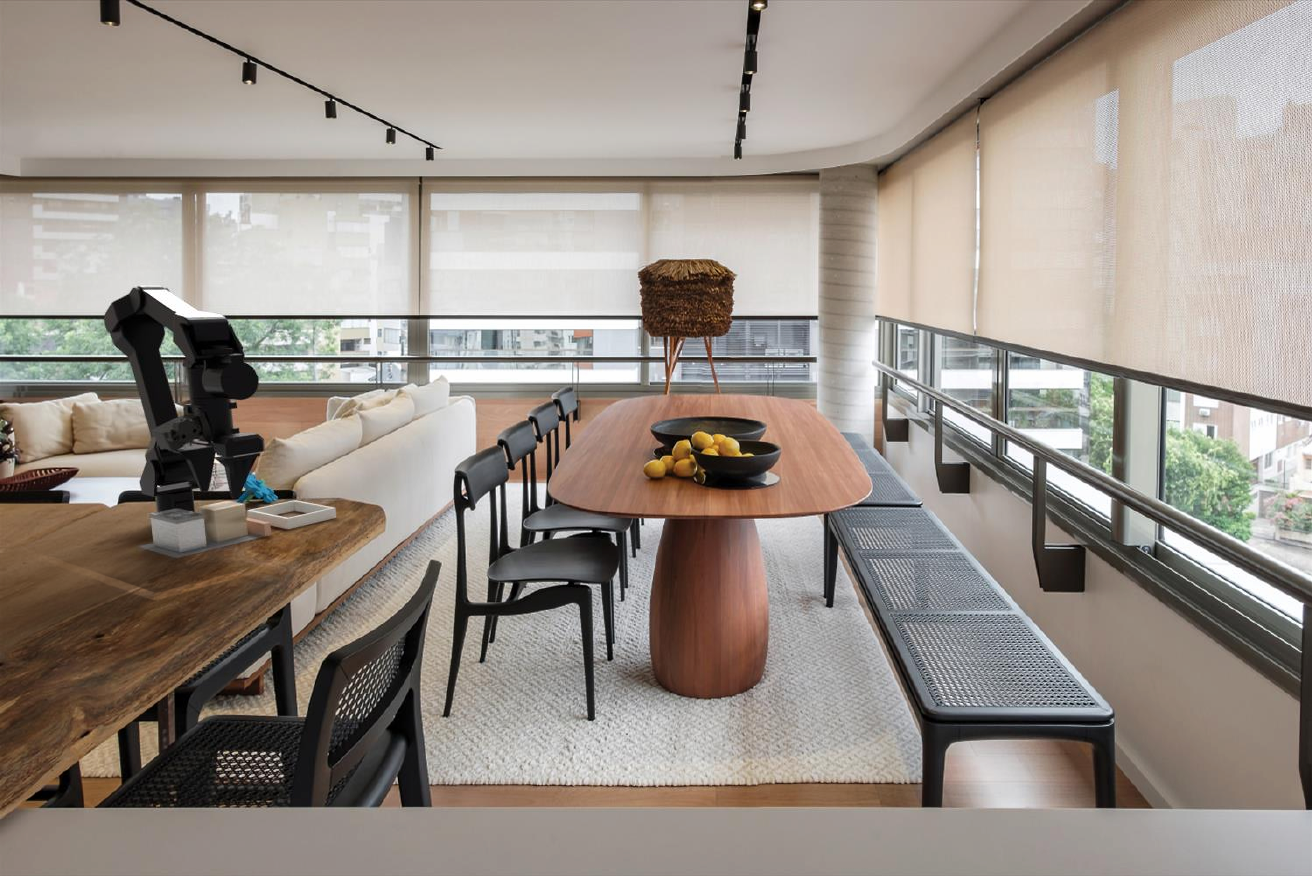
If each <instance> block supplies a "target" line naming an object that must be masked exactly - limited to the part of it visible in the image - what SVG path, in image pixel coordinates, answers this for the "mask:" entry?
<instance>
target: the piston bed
mask: <svg viewBox="0 0 1312 876" xmlns="http://www.w3.org/2000/svg"><path fill="white" fill-rule="evenodd" d="M246 520H247V530H248V535H244V536H240V537H236V538H232V539H228V540H223V541H219V542H216V541H212V540H208V539H206V545H207V546H206V547H202V548H198V549H194V550H190V551H186V552H181V553H179V552H175V551H172V550H168V549H165V548H161V547H158V546H154V542H151V543H146V544H143V545H138V546H137V548H140V549H144V550H147V551H151V552H153V553H157V554H161V555H165V556H168V557H170V558H171V557H172V558H175V559H179V558H183V557H184V558H185V557H188V556H191V555H196V554H199V553H200V554H201V553H203V552H207V551H208V552H209V551H212V550H216V549H220V548H223V547H228V546H232V545H236V544H242V543H245V542H248V541H252V540H259V539H262V538H266V537H270V536H272V528H271V525H270V522H265V521H260V520H256V519H251V518H248V516H246Z"/></svg>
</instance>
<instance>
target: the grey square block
mask: <svg viewBox="0 0 1312 876" xmlns="http://www.w3.org/2000/svg"><path fill="white" fill-rule="evenodd" d="M149 518H150V525H151V532H152V539H153V542H152V543H154V546H158V547H161V548H165V549H168V550H172V551H175V552H179V553H181V552H186V551H190V550H194V549H198V548H202V547H206V546H207V545H206V536H205V526H204V514H200V513H198V512H196V511H195V512H191V511H186V510H182V509H178V508H176V509H171V510H166V511H161V512H157V511H156V512H151V513H149Z"/></svg>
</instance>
